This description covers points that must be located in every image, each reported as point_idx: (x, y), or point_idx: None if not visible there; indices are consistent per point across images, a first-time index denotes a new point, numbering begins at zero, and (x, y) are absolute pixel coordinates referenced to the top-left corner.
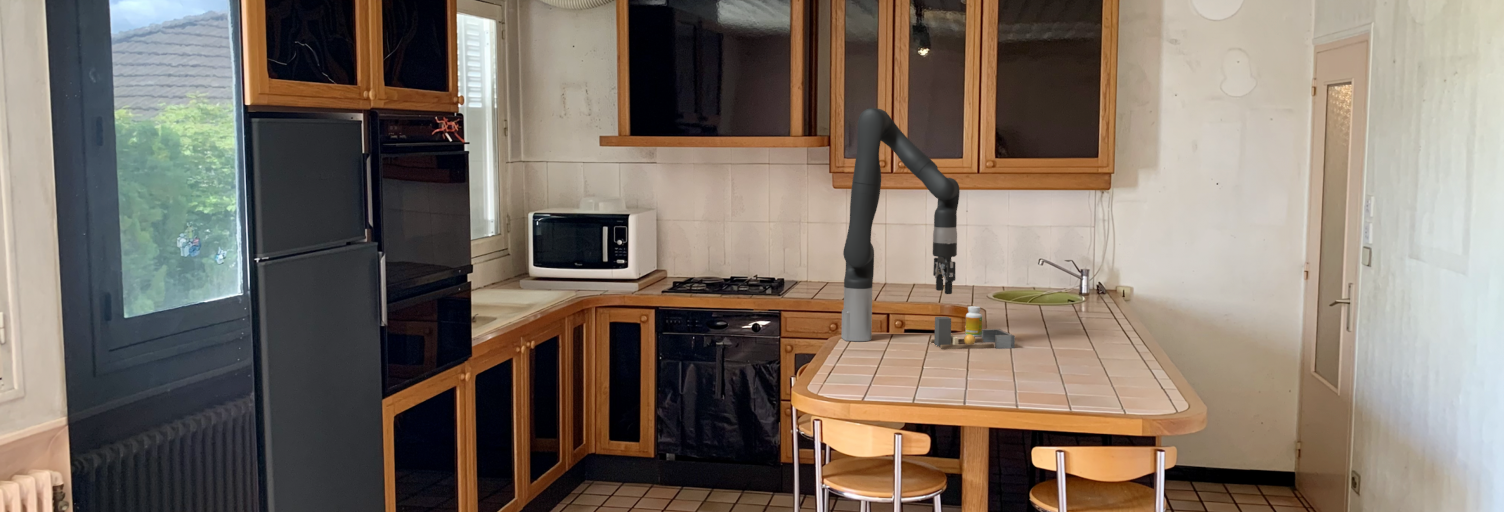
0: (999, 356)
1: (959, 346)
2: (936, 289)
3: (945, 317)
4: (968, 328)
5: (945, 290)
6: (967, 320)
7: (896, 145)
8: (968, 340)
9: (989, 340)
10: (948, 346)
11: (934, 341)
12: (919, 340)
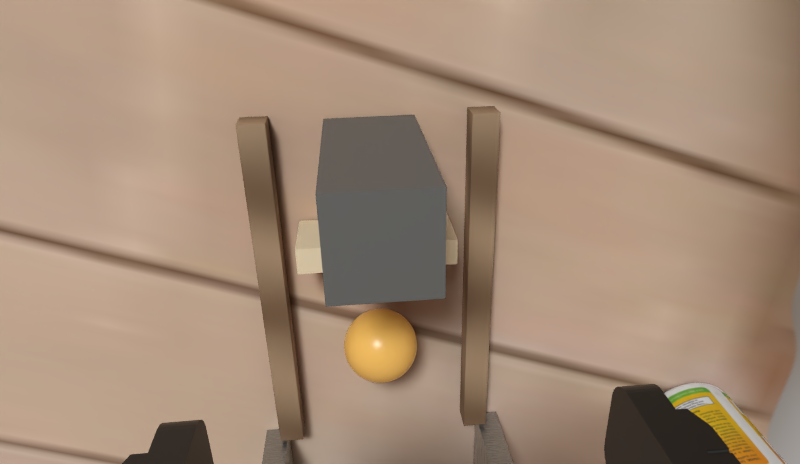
0: (9, 391)
1: (255, 246)
2: (626, 388)
3: (394, 272)
4: None
5: (145, 461)
6: (732, 451)
7: None
8: (348, 332)
9: (475, 449)
10: (244, 173)
11: (415, 120)
12: (616, 58)
